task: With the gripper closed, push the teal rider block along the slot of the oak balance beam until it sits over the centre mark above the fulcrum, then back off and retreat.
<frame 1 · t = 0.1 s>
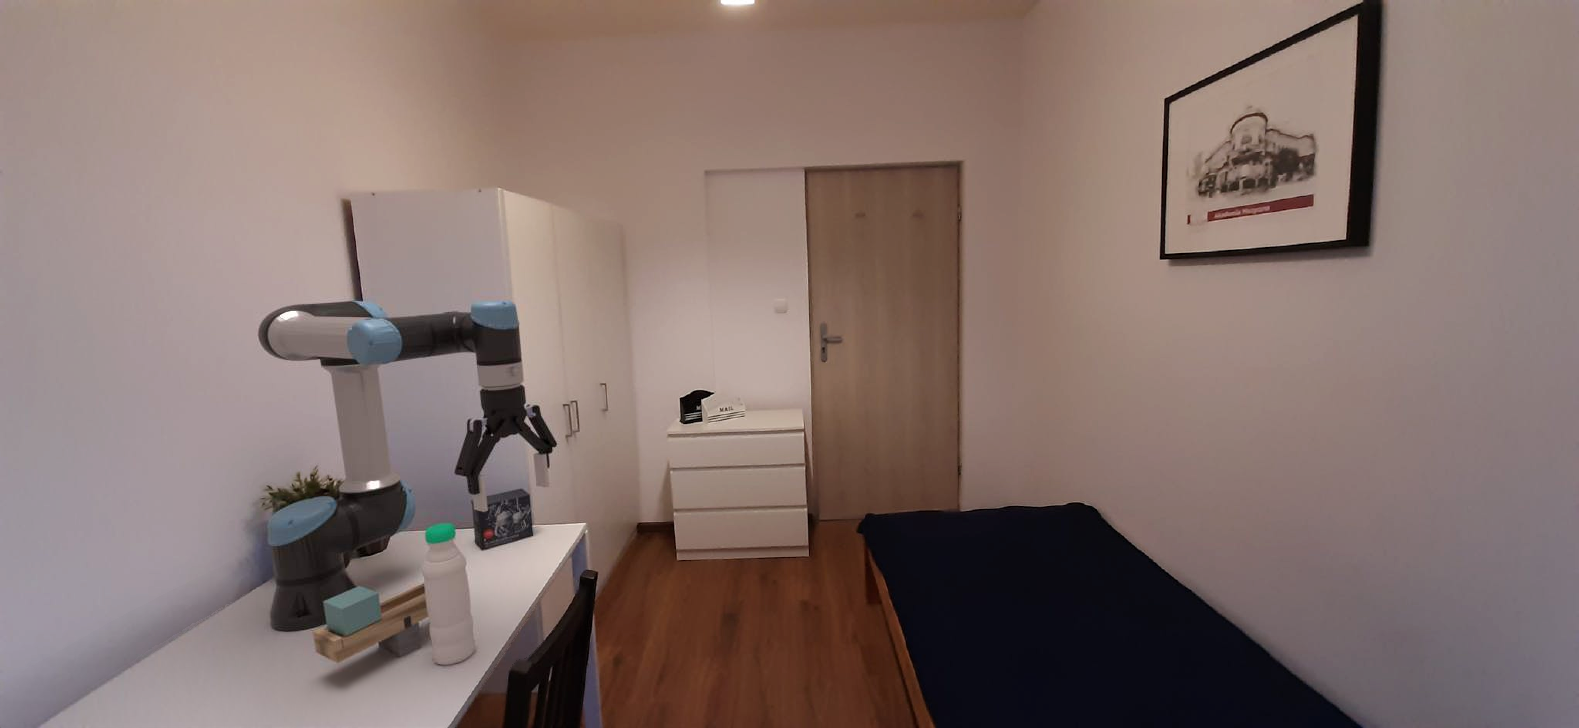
hand: (513, 497, 119), 28 cm above the table, fingers open, 13 cm apart
white bottle: (455, 656, 117), on the table
rider: (353, 614, 113), point 10 cm above the table, slide at 0.0 cm
small box: (504, 540, 168), on the table
beam: (400, 647, 120), on the table
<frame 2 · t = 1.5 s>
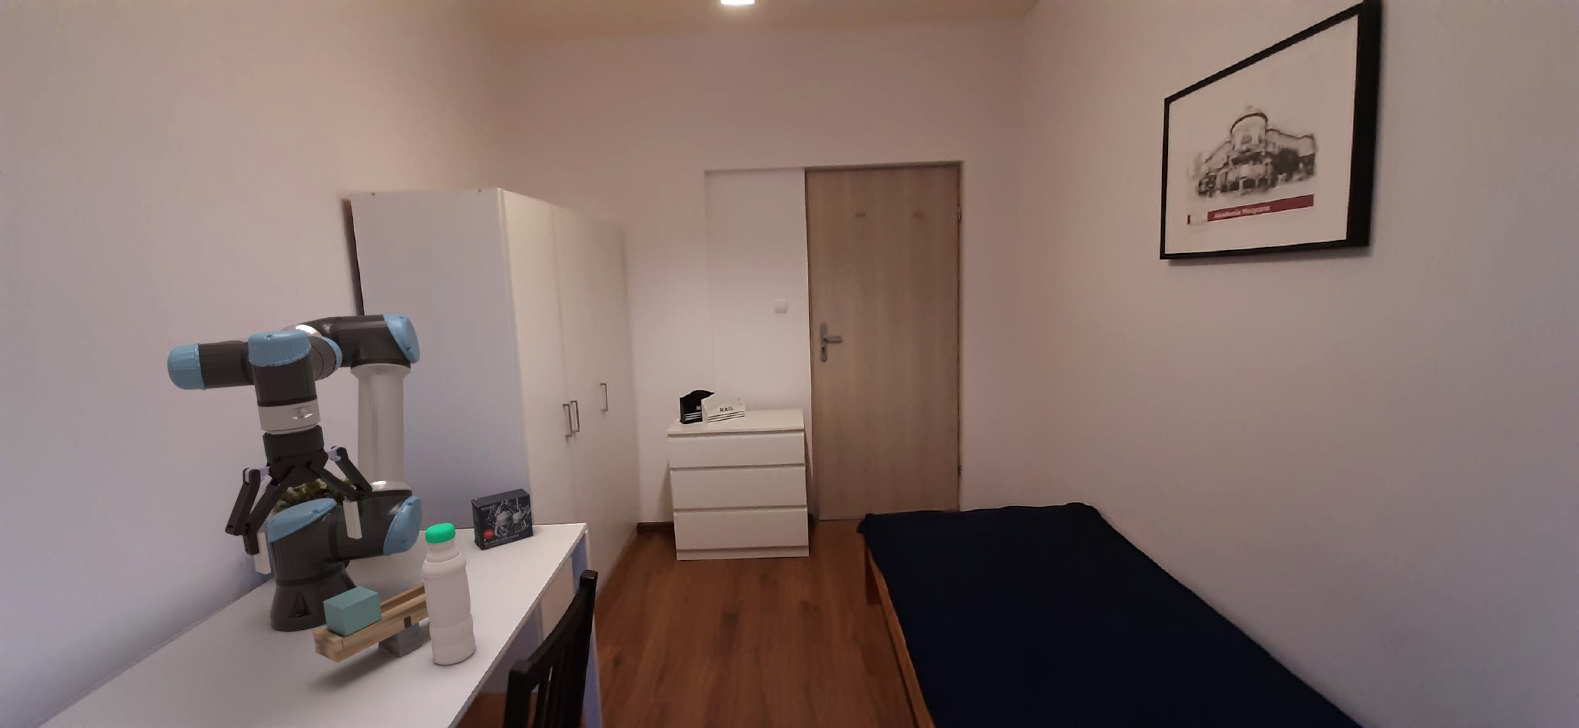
hand: (311, 553, 104), 25 cm above the table, fingers open, 13 cm apart
nothing on the table moved.
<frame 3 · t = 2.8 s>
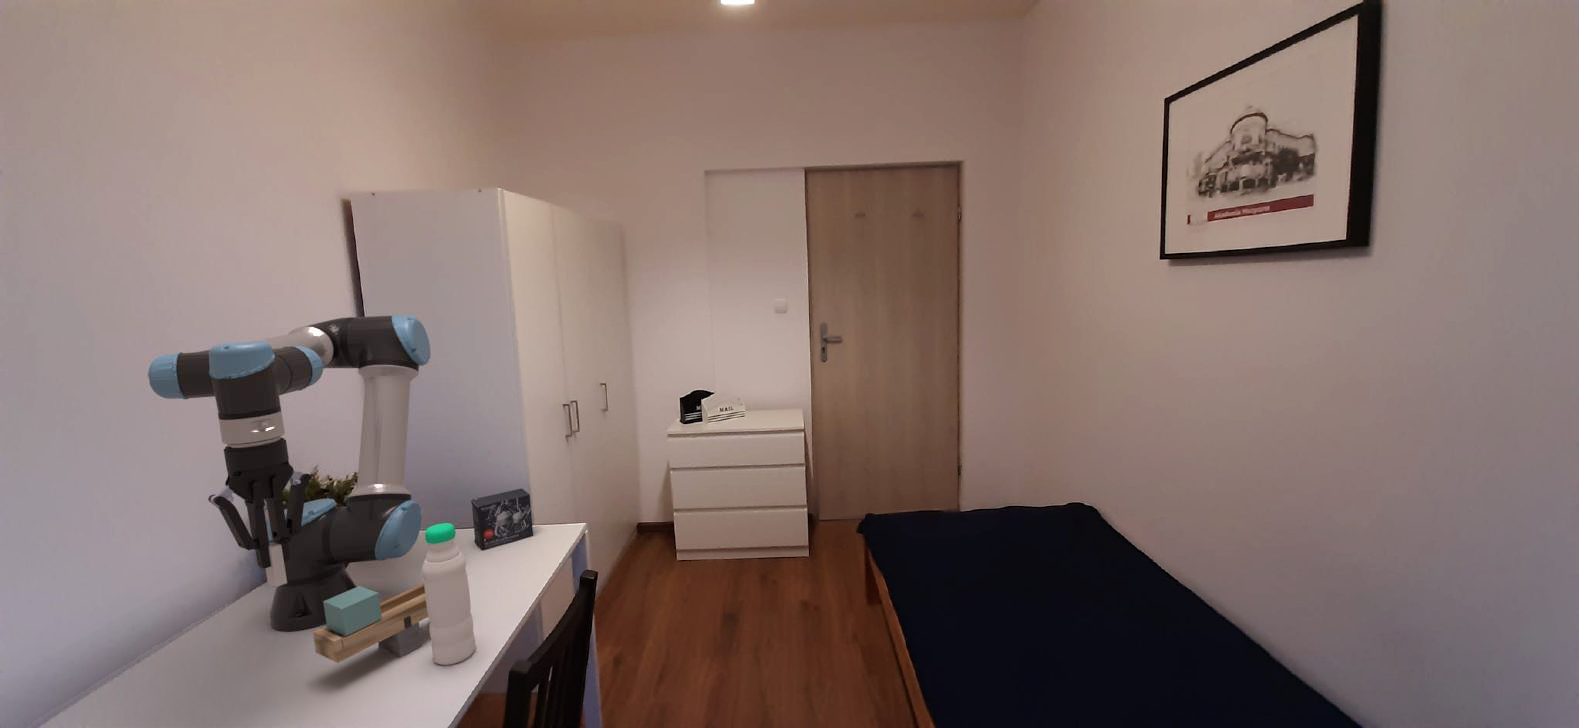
hand: (277, 583, 102), 21 cm above the table, fingers closed
nothing on the table moved.
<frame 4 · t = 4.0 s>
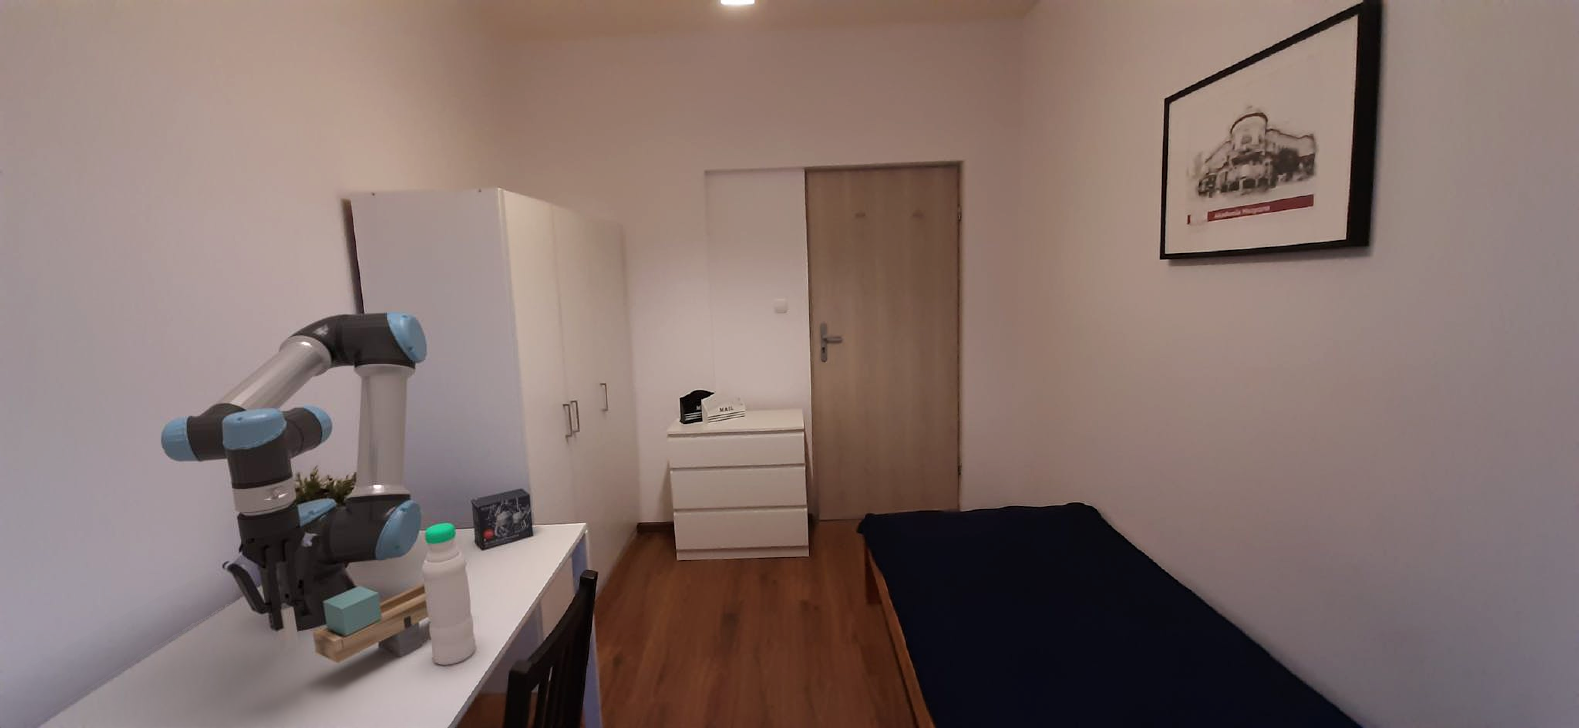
hand: (289, 643, 104), 10 cm above the table, fingers closed
nothing on the table moved.
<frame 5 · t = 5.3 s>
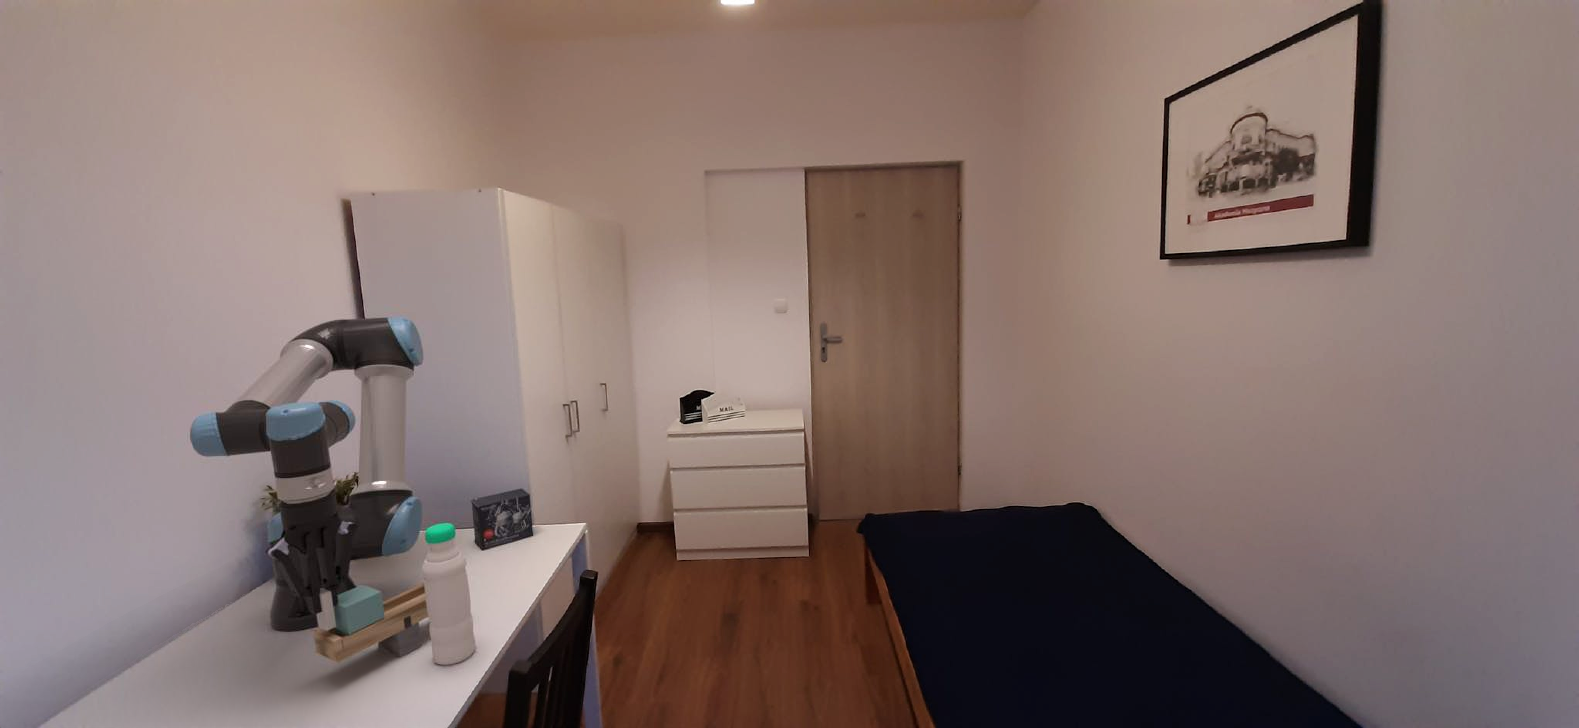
hand: (327, 626, 109), 10 cm above the table, fingers closed
rider: (356, 612, 113), point 10 cm above the table, slide at 0.5 cm, touching gripper
everything else where it was.
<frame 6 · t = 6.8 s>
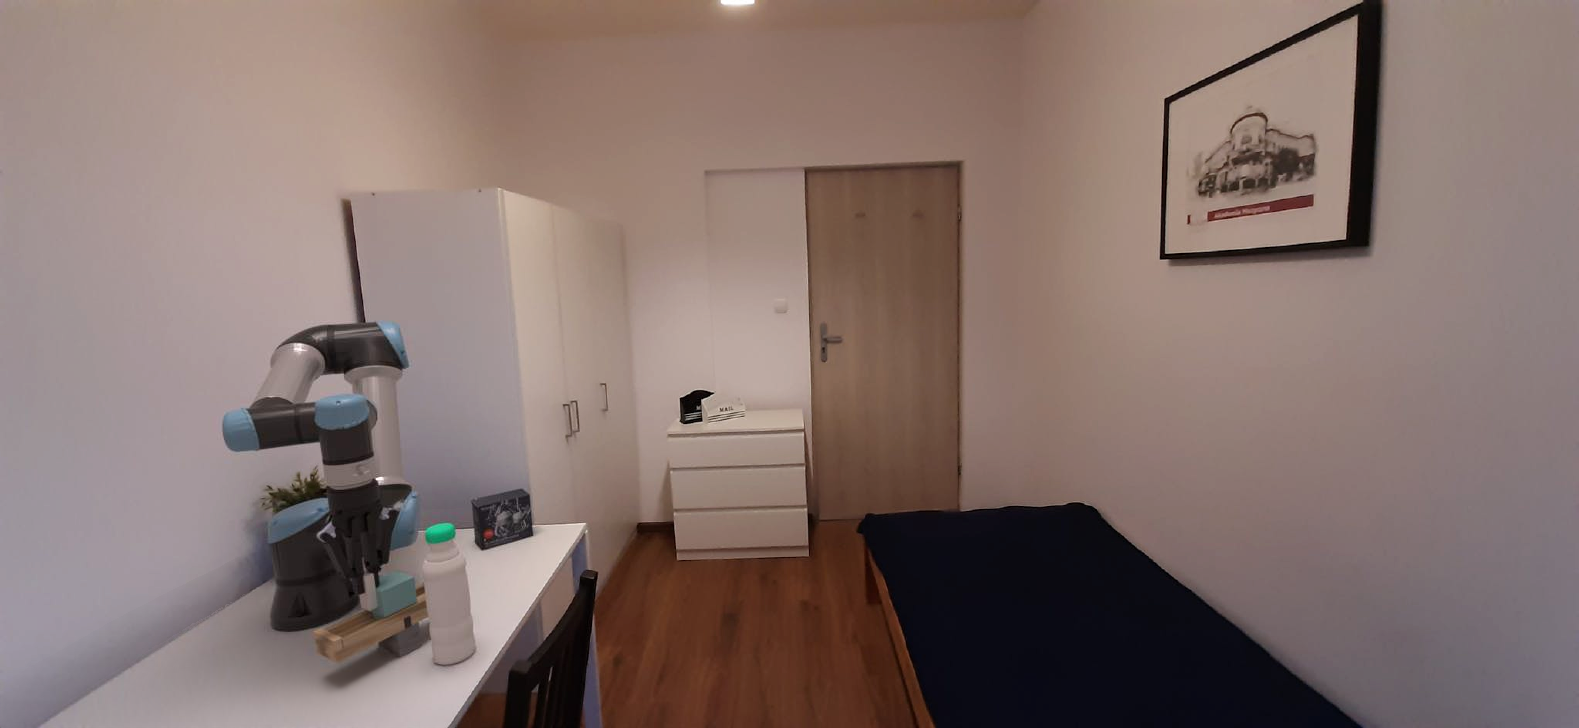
hand: (369, 607, 115), 10 cm above the table, fingers closed
rider: (390, 597, 118), point 10 cm above the table, slide at 6.5 cm, touching gripper
everything else where it was.
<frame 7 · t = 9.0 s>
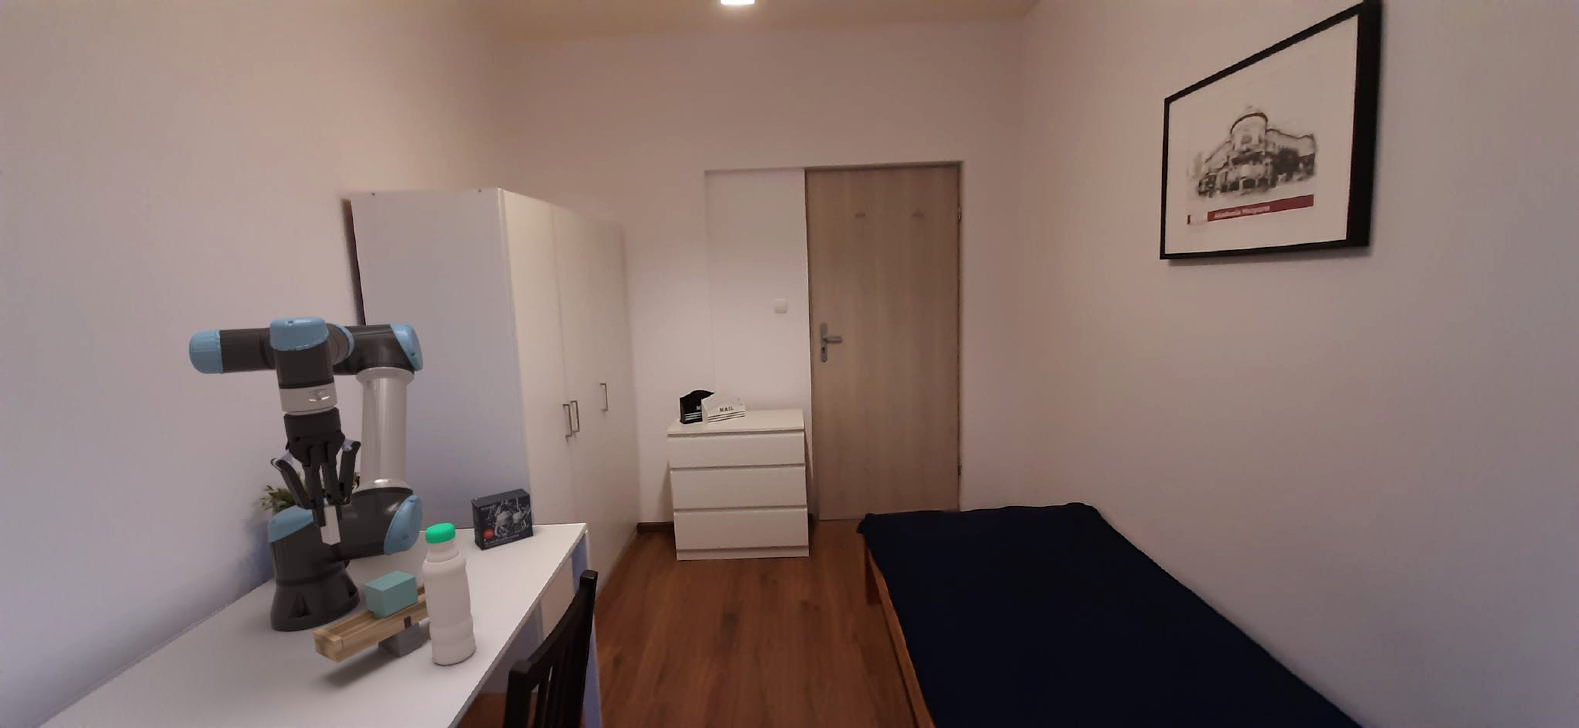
hand: (331, 541, 110), 24 cm above the table, fingers closed
rider: (391, 596, 118), point 10 cm above the table, slide at 6.7 cm
everything else where it was.
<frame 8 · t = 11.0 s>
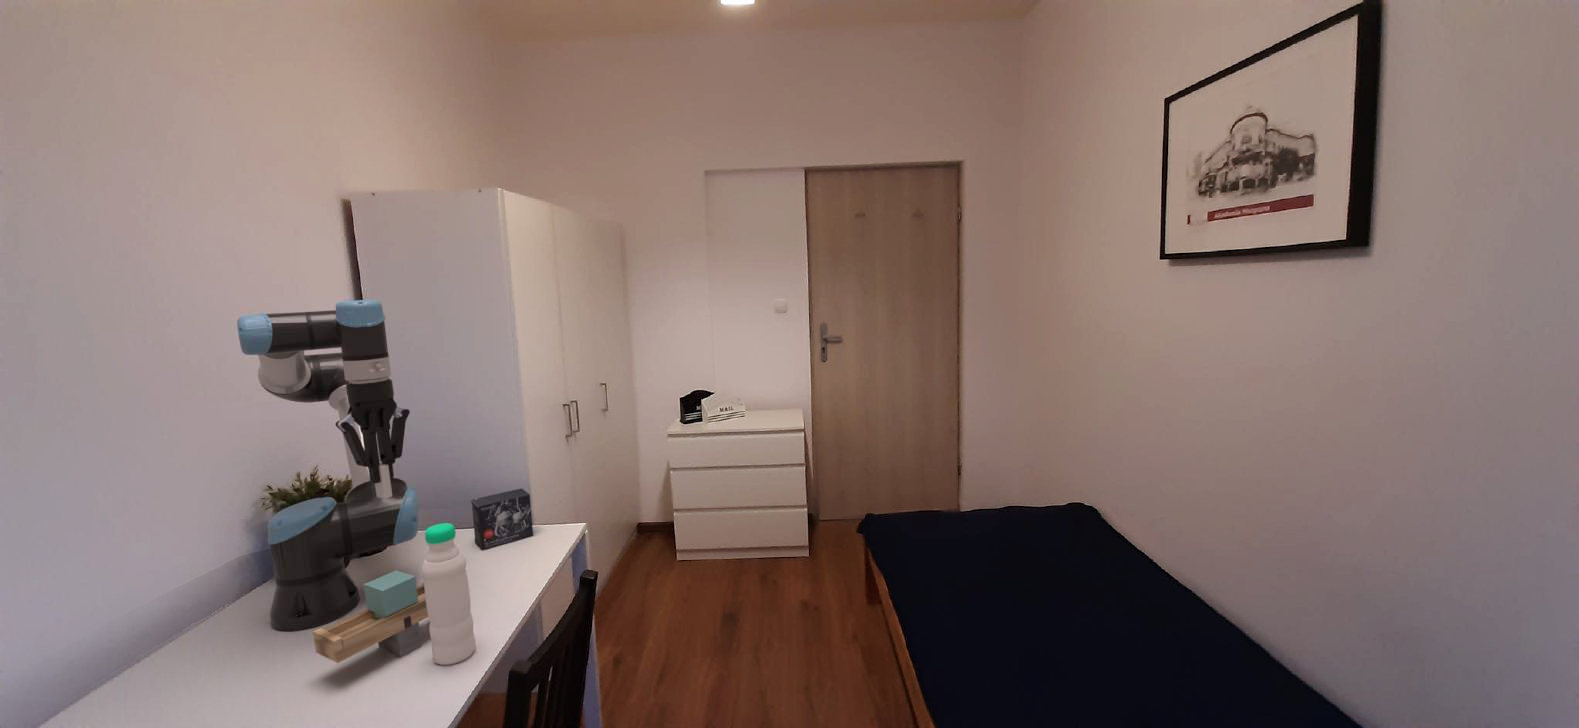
hand: (384, 496, 126), 26 cm above the table, fingers closed
nothing on the table moved.
at the end: rider slide at 6.7 cm; rider moved 6.7 cm from its start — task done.
